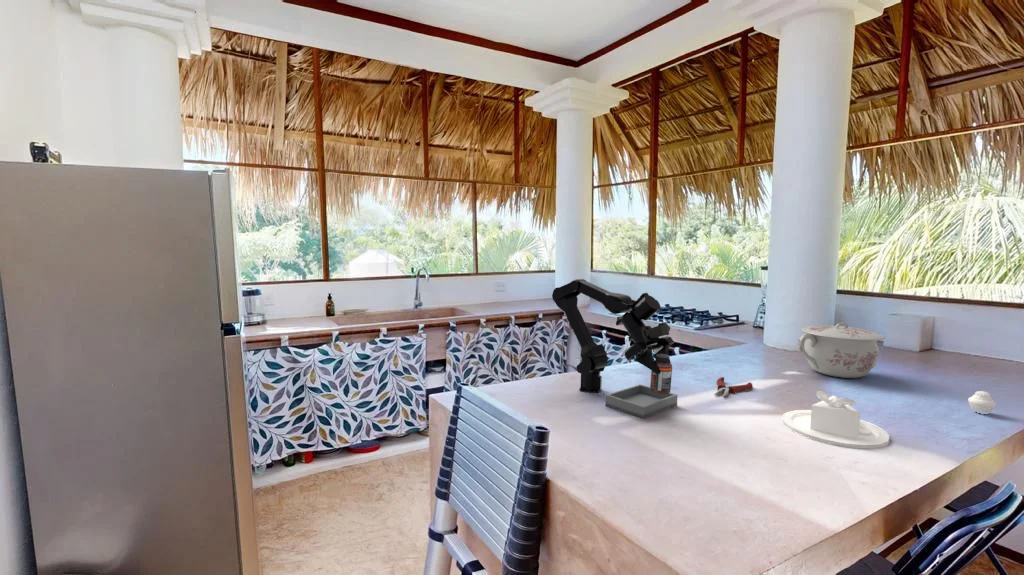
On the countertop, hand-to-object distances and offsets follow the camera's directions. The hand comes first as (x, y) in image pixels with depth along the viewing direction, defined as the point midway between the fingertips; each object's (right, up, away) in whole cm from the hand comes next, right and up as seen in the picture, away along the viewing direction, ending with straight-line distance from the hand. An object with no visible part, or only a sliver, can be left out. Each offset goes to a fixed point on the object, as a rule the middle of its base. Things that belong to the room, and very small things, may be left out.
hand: (665, 371), depth 143 cm
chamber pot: (+83, -9, +47) cm, 96 cm away
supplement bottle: (-1, -7, +2) cm, 7 cm away
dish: (+44, -15, -10) cm, 47 cm away
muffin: (+99, -14, +4) cm, 100 cm away
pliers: (+29, -11, +26) cm, 40 cm away
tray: (-5, -12, +7) cm, 15 cm away
